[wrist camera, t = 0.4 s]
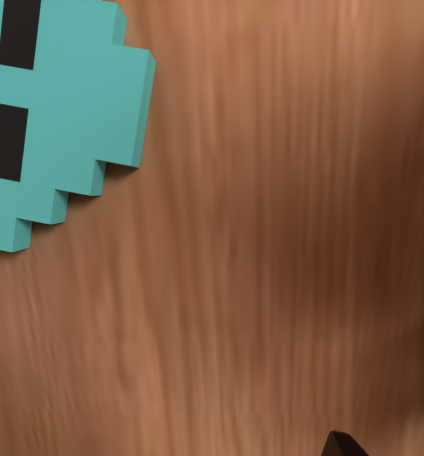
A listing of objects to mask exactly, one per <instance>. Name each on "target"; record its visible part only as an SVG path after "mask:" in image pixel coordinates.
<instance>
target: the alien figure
mask: <svg viewBox="0 0 424 456" xmlns="http://www.w3.org/2000/svg"><path fill="white" fill-rule="evenodd" d="M126 24H127V18H126V17H125V15H124V13H123V12H122V10H121V9H120V7H119V5H118V4H117V3H113V2H107V1H101V0H0V250H3V251H8V252H15V251H19V250H22V249H26V248H29V247H30V239H31V230H32V222H33V221H35V222H40V223H45V224H56V223H62V222H65V218H66V210H67V203H68V195H69V192H74V193H79V194H84V195H89V196H98V195H102V189H103V182H104V175H105V169H106V162H109V163H115V164H120V165H126V166H131V167H136V168H140V161H141V155H142V149H143V142H144V136H145V130H146V123H147V117H148V111H149V104H150V98H151V92H152V85H153V79H154V73H155V66H156V61H155V60H154V58H153V56H152V55H151V53H150V51H149V50H145V49H139V48H133V47H127V46H123V45H124V38H125V31H126Z"/></svg>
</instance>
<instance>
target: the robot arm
mask: <svg viewBox="0 0 424 456" xmlns="http://www.w3.org/2000/svg"><path fill="white" fill-rule="evenodd" d="M321 456H369V455H368V454H367V453H366V452H365V451H364V450H363V449H362V448H361V446H360V445H359V444H358V443H357V442H356V441H355V440H354V439H353V438H352V437H351V436H350V435H349V434H347V433H344V432H339V431H331V432H330V433H329V435H328V437H327V440H326V443H325V446H324V449H323V451H322V454H321Z"/></svg>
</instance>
